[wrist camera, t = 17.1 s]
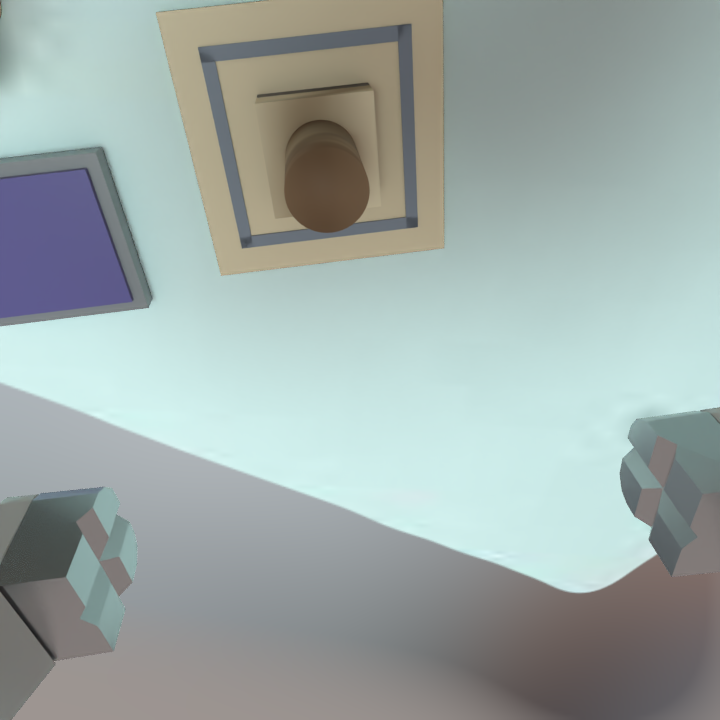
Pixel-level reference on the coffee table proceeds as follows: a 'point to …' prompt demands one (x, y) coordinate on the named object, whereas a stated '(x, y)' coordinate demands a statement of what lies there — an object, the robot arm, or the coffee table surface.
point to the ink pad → (64, 240)
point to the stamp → (321, 154)
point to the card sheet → (298, 72)
